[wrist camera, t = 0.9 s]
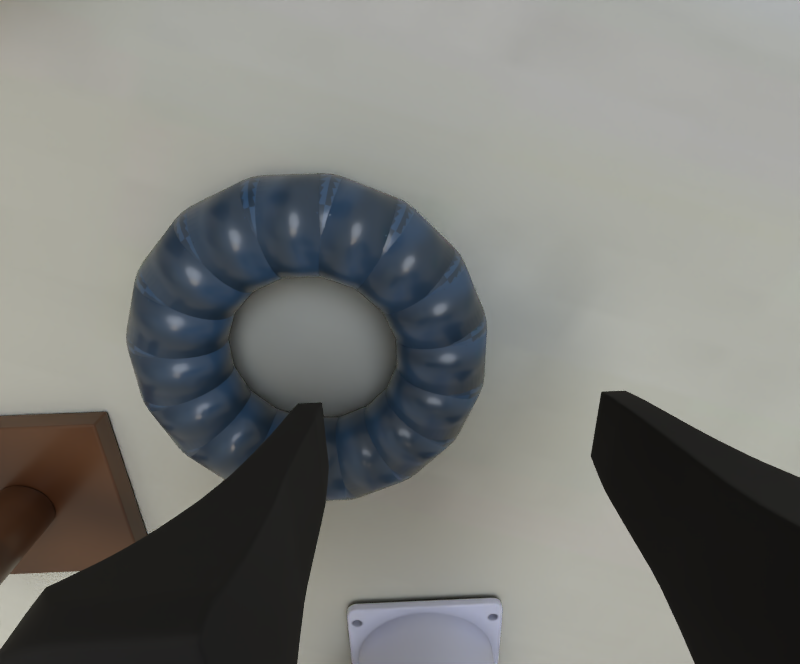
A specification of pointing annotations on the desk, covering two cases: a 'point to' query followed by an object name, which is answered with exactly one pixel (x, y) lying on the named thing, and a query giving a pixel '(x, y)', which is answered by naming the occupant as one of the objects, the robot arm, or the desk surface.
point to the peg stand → (62, 494)
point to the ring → (307, 257)
